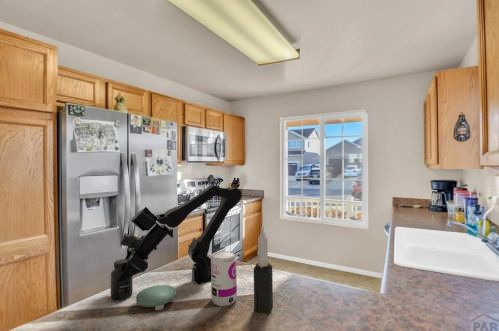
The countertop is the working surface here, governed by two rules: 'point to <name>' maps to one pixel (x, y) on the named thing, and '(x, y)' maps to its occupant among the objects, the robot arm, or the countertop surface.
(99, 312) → the countertop surface
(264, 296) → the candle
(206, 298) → the countertop surface
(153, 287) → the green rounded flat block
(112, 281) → the supplement bottle
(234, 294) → the supplement can
